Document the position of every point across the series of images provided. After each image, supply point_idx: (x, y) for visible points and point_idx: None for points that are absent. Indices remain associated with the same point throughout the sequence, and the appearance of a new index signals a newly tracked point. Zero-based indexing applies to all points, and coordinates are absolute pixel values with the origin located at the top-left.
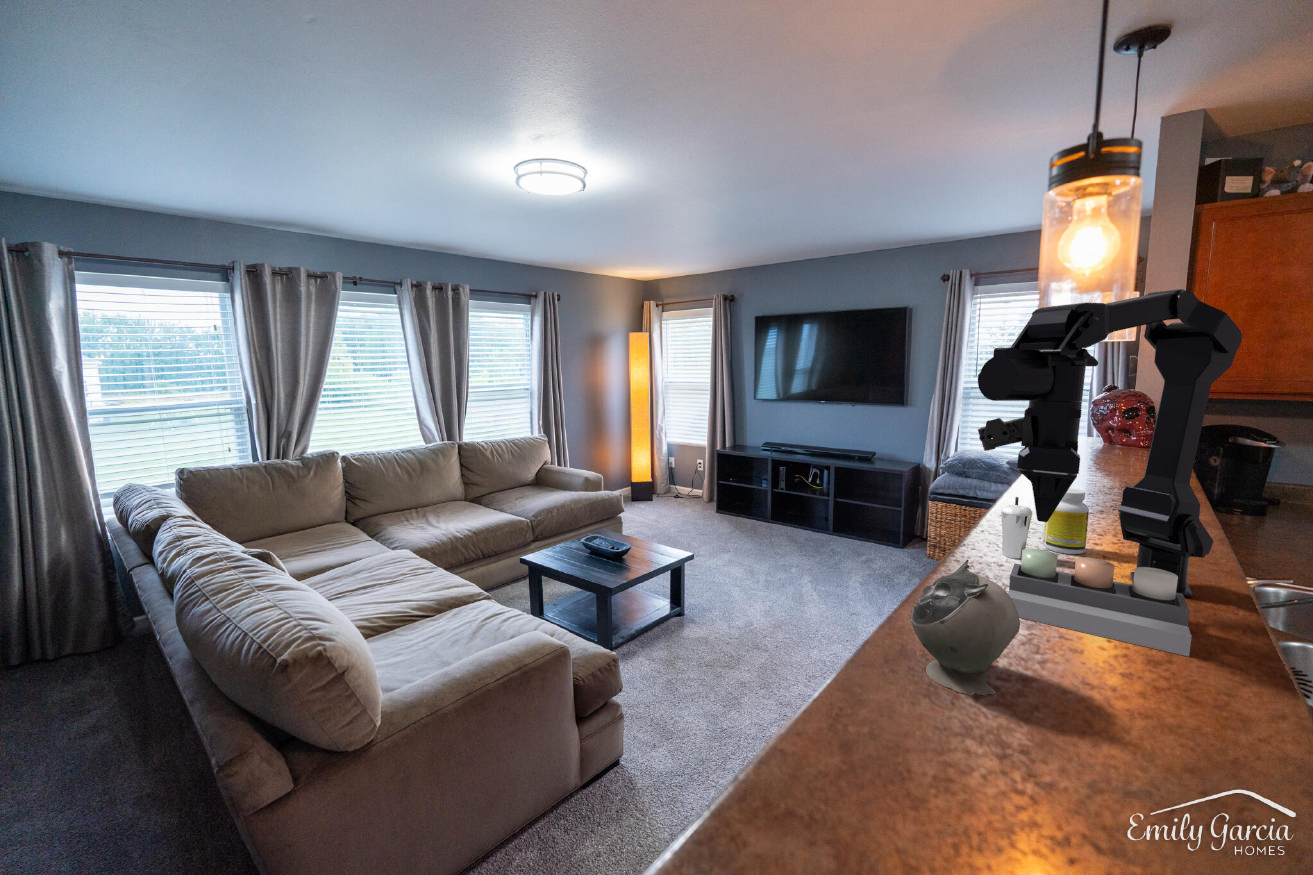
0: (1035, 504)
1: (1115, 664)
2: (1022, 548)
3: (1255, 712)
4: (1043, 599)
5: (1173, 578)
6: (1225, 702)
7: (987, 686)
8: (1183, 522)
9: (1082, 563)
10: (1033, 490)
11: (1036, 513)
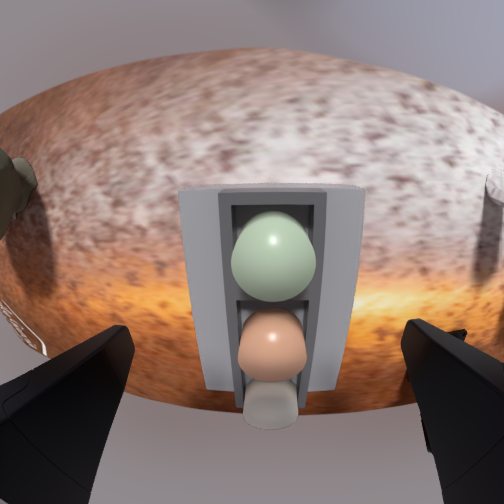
0: (59, 355)
1: (131, 312)
2: (500, 202)
3: (133, 381)
4: (209, 249)
5: (255, 426)
6: (132, 371)
7: (14, 213)
8: (431, 451)
9: (248, 342)
10: (4, 385)
11: (93, 336)
